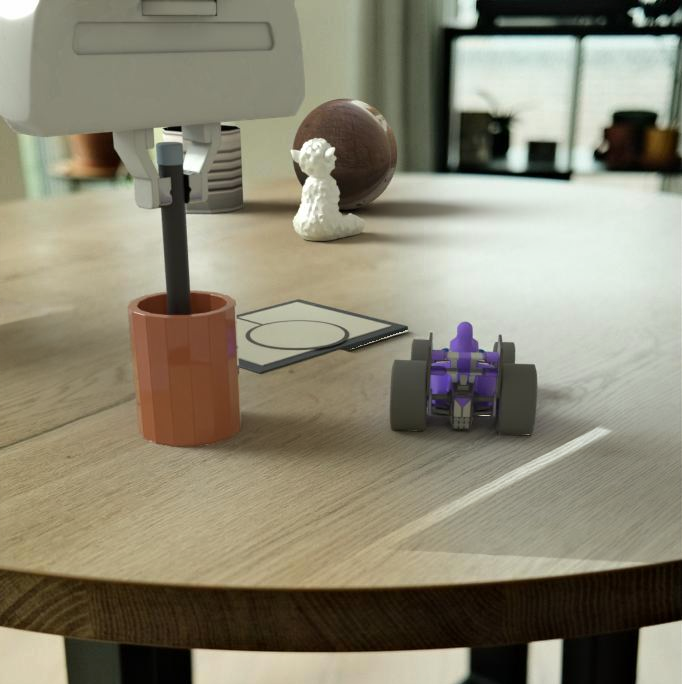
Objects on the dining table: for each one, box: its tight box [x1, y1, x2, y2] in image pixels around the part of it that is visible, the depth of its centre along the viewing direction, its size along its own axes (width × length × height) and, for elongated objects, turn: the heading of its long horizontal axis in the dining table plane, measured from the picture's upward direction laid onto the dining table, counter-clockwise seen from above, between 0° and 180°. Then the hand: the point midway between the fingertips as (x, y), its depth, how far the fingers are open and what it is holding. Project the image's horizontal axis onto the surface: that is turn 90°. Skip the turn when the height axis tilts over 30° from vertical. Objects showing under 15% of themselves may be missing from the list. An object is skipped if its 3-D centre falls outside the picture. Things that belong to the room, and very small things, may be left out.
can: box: [161, 124, 244, 215], centre depth 148 cm, size 11×11×12 cm
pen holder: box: [127, 289, 242, 448], centre depth 67 cm, size 7×7×9 cm
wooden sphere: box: [292, 98, 398, 211], centre depth 146 cm, size 15×15×15 cm
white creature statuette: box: [290, 138, 366, 242], centre depth 128 cm, size 10×9×12 cm
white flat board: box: [237, 298, 409, 375], centre depth 89 cm, size 14×18×1 cm
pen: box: [155, 141, 192, 315], centre depth 64 cm, size 2×2×14 cm
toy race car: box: [389, 321, 538, 435], centre depth 73 cm, size 10×15×6 cm, turn 174°
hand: (172, 204), depth 62 cm, fingers closed on pen, 1 cm apart
